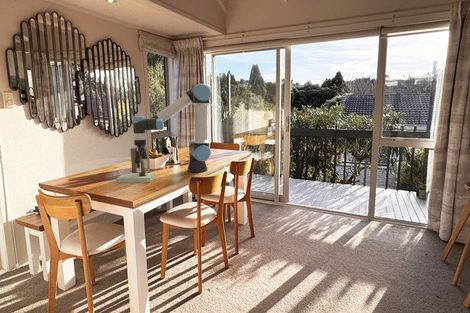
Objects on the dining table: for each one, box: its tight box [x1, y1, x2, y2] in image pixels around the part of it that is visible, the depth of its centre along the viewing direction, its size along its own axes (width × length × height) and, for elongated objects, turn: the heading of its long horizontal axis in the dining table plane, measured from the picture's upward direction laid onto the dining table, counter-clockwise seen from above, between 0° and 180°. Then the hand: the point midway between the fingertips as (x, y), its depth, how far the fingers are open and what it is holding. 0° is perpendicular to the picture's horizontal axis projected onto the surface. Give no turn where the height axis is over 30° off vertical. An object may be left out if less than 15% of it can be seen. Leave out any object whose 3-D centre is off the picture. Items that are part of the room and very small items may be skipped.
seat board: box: [116, 172, 156, 184], centre depth 205 cm, size 22×14×3 cm, turn 91°
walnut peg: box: [139, 159, 145, 176], centre depth 204 cm, size 4×4×14 cm
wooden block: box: [129, 146, 151, 173], centre depth 221 cm, size 10×10×20 cm
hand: (142, 170), depth 204 cm, fingers open, 13 cm apart
